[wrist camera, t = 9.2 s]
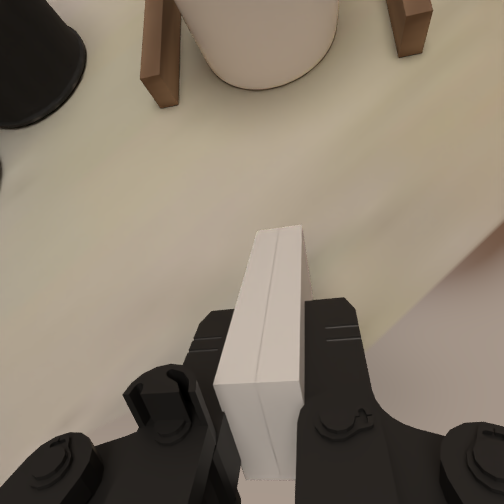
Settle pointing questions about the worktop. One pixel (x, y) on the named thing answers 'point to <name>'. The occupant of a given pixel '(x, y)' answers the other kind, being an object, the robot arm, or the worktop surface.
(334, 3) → the candle holder
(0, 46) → the milk frother
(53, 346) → the worktop surface
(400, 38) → the walnut bay
